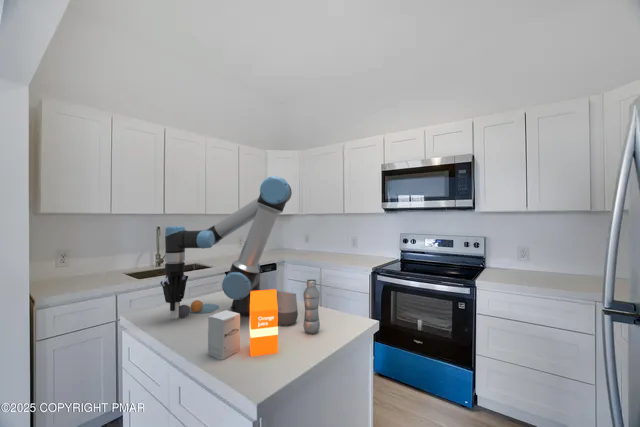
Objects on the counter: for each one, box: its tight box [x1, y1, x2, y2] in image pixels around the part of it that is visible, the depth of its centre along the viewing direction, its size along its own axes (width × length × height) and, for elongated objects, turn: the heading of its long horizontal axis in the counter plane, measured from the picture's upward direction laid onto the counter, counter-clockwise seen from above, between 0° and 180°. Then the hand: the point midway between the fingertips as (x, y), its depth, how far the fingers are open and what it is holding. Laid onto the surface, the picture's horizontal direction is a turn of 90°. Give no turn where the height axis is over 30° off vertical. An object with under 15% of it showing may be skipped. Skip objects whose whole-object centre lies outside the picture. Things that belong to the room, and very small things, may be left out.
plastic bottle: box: [302, 279, 321, 334], centre depth 109 cm, size 6×7×20 cm
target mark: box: [189, 303, 220, 315], centre depth 136 cm, size 14×14×1 cm
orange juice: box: [249, 288, 279, 357], centre depth 95 cm, size 8×9×20 cm
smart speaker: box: [276, 290, 299, 327], centre depth 118 cm, size 10×9×14 cm
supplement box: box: [207, 309, 241, 361], centre depth 92 cm, size 7×7×13 cm
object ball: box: [189, 299, 204, 312], centre depth 131 cm, size 6×6×6 cm
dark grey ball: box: [178, 304, 191, 319], centre depth 125 cm, size 6×6×6 cm
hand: (174, 317), depth 119 cm, fingers closed
